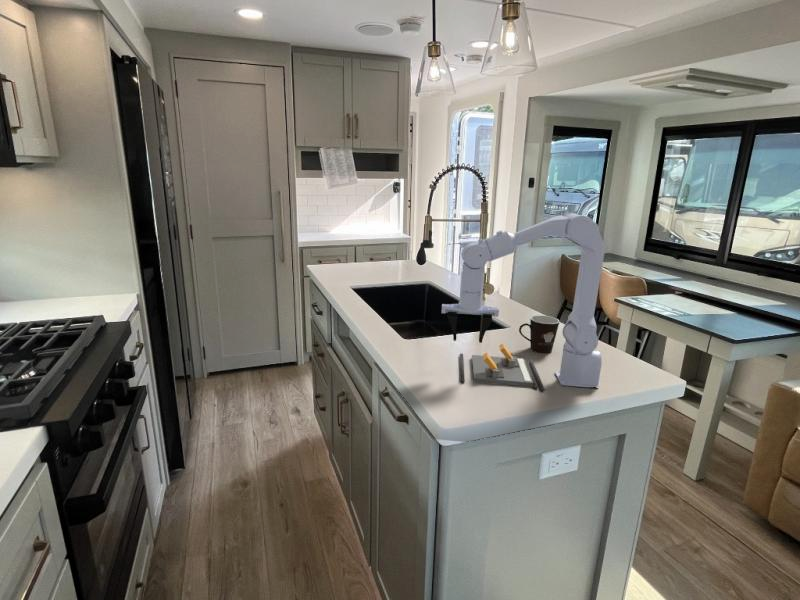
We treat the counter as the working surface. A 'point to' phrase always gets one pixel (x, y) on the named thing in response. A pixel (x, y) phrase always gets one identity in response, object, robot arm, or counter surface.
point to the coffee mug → (542, 333)
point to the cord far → (462, 368)
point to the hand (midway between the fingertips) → (467, 340)
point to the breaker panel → (502, 371)
